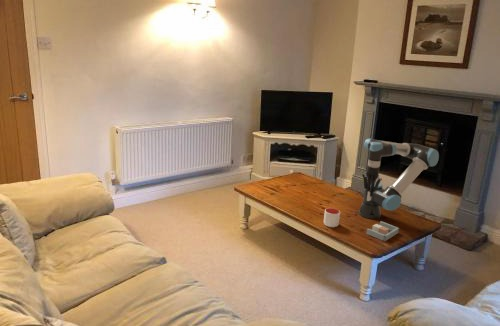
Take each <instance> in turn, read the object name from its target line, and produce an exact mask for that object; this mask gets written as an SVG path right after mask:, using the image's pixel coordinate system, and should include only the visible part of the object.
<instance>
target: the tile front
mask: <svg viewBox="0 0 500 326" xmlns="http://www.w3.org/2000/svg"><path fill="white" fill-rule="evenodd" d="M389 232H390V230H389V228H386V227H384V226H382V227H380V228H379V231H378V233H381V234H383V235H386V234H387V233H389Z"/></svg>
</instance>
